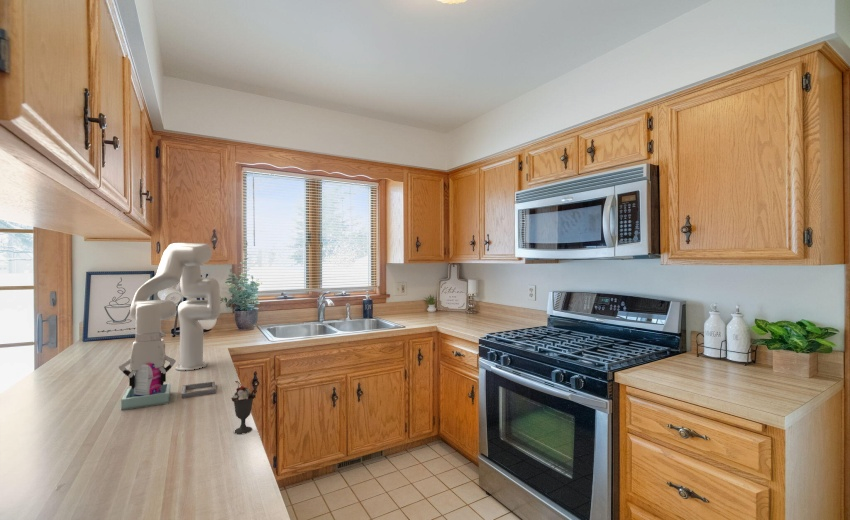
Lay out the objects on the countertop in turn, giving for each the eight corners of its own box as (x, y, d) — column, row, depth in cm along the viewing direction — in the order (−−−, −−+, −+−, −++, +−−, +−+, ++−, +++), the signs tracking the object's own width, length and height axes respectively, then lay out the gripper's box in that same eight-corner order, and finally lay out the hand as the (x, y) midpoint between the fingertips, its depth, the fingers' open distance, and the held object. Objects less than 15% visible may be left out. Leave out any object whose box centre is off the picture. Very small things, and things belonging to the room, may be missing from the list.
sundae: (226, 430, 116) (227, 380, 116) (249, 424, 120) (250, 375, 121) (235, 437, 111) (236, 385, 111) (258, 430, 116) (259, 380, 116)
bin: (127, 398, 142) (127, 388, 142) (170, 392, 148) (170, 382, 148) (121, 410, 130) (121, 399, 130) (168, 403, 137) (168, 393, 137)
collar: (182, 389, 152) (182, 385, 152) (214, 385, 157) (214, 381, 157) (181, 397, 142) (181, 393, 142) (215, 393, 148) (215, 389, 148)
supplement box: (147, 397, 136) (147, 364, 136) (133, 396, 137) (133, 363, 137) (161, 392, 142) (161, 360, 142) (148, 390, 143) (148, 359, 143)
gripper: (177, 333, 147) (177, 379, 147) (119, 337, 138) (119, 386, 138) (176, 336, 141) (176, 385, 141) (115, 341, 132) (115, 393, 132)
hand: (147, 385), depth 139 cm, fingers closed on supplement box, 8 cm apart
